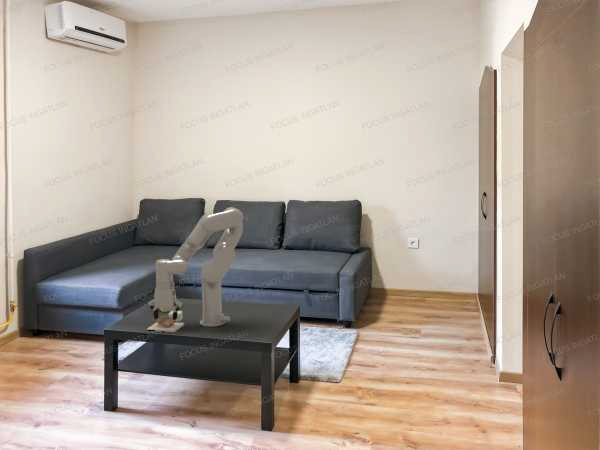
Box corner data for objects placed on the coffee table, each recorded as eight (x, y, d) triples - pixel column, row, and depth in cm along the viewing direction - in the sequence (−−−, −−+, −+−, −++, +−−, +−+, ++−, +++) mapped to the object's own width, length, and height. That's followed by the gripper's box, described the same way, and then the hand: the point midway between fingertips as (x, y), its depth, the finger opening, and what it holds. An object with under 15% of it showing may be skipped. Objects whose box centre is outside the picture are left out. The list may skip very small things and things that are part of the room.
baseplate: (184, 324, 279) (184, 323, 279) (174, 332, 268) (174, 330, 268) (157, 323, 282) (157, 321, 282) (147, 330, 270) (146, 328, 270)
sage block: (182, 318, 292) (182, 311, 291) (180, 321, 286) (179, 314, 285) (171, 318, 292) (170, 311, 291) (168, 321, 286) (168, 314, 285)
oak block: (174, 324, 277) (174, 316, 277) (169, 327, 271) (168, 319, 271) (162, 323, 278) (162, 315, 278) (157, 327, 272) (157, 319, 272)
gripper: (184, 283, 274) (185, 317, 276) (151, 282, 278) (152, 316, 280) (178, 287, 267) (179, 322, 269) (144, 285, 270) (145, 320, 272)
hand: (165, 319), depth 274 cm, fingers open, 9 cm apart
